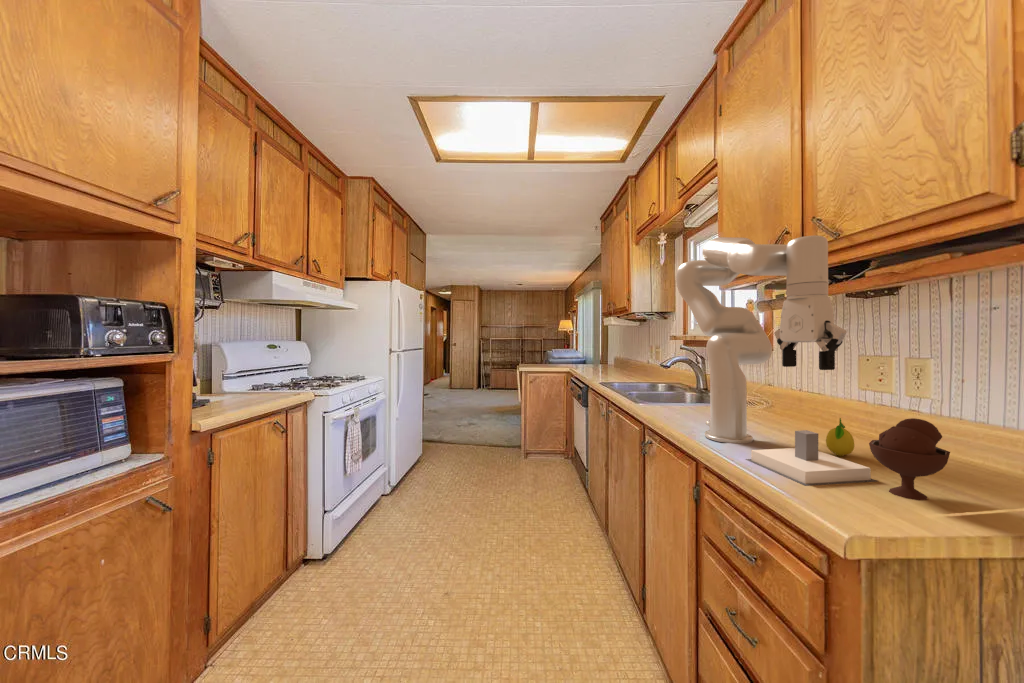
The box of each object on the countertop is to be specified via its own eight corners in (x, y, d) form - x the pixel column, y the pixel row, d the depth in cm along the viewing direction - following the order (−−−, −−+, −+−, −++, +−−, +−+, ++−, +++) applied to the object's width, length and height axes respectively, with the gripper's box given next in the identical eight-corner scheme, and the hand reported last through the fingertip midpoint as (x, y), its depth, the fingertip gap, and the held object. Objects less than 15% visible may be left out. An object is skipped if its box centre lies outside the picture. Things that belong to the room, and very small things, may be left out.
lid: (751, 460, 95) (751, 425, 95) (807, 457, 97) (807, 423, 97) (805, 483, 80) (805, 442, 80) (870, 479, 82) (870, 439, 82)
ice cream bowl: (887, 482, 81) (887, 410, 81) (964, 503, 71) (964, 421, 71) (856, 489, 78) (856, 415, 77) (932, 513, 67) (933, 427, 67)
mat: (745, 460, 96) (745, 459, 96) (807, 457, 98) (807, 456, 98) (805, 487, 79) (805, 485, 79) (878, 483, 81) (878, 481, 81)
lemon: (840, 452, 102) (841, 414, 101) (863, 460, 96) (863, 419, 96) (817, 453, 101) (817, 415, 101) (838, 461, 95) (838, 420, 95)
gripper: (762, 296, 96) (762, 365, 96) (827, 287, 79) (827, 371, 79) (790, 296, 97) (790, 365, 97) (860, 287, 80) (860, 370, 80)
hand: (807, 368), depth 88 cm, fingers open, 9 cm apart
